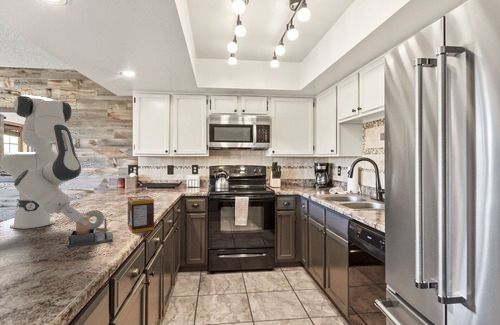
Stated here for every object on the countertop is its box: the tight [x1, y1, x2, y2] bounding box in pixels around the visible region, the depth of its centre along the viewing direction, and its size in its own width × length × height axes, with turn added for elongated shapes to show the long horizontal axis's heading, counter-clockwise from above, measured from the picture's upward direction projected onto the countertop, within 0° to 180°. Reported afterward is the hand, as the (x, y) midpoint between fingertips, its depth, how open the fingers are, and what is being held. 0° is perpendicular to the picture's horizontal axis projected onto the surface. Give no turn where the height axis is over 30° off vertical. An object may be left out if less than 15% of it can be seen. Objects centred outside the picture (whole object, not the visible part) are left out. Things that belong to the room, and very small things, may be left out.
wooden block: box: [75, 216, 90, 235], centre depth 113 cm, size 5×5×10 cm
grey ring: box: [82, 209, 105, 229], centre depth 132 cm, size 10×4×10 cm, turn 130°
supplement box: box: [127, 195, 155, 234], centre depth 135 cm, size 10×15×16 cm
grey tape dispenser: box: [67, 217, 113, 248], centre depth 115 cm, size 13×16×8 cm
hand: (84, 222), depth 113 cm, fingers open, 6 cm apart
